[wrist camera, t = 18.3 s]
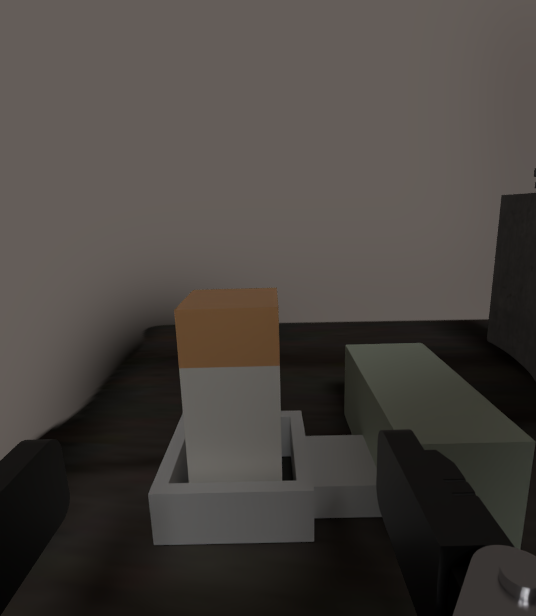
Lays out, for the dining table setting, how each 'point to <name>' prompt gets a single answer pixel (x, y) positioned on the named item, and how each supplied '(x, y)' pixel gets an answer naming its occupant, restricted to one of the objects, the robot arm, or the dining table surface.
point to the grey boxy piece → (354, 457)
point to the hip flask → (515, 281)
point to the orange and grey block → (230, 384)
